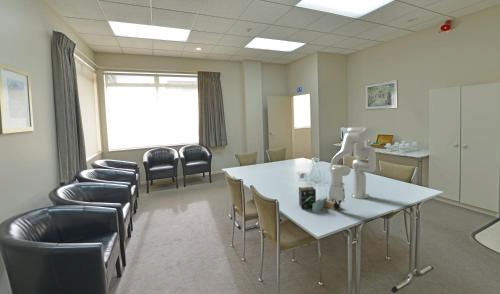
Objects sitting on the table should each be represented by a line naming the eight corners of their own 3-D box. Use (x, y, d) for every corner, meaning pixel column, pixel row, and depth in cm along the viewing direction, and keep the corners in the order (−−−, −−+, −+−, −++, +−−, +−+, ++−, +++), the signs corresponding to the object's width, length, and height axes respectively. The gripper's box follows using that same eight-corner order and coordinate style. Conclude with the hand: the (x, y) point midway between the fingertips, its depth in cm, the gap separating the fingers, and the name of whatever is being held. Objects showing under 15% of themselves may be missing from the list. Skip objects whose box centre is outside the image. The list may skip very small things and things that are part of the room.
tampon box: (312, 204, 189) (312, 186, 188) (316, 208, 180) (316, 189, 178) (298, 204, 189) (298, 186, 187) (301, 209, 180) (301, 190, 178)
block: (331, 204, 187) (331, 198, 186) (340, 208, 179) (340, 202, 178) (324, 206, 184) (324, 200, 184) (333, 210, 176) (333, 203, 175)
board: (323, 203, 190) (323, 196, 189) (327, 204, 188) (327, 196, 187) (312, 211, 175) (312, 203, 174) (316, 212, 173) (316, 204, 172)
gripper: (349, 184, 170) (349, 209, 172) (328, 181, 179) (328, 205, 182) (345, 186, 164) (345, 212, 167) (324, 183, 174) (324, 208, 176)
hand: (336, 208), depth 174 cm, fingers closed
